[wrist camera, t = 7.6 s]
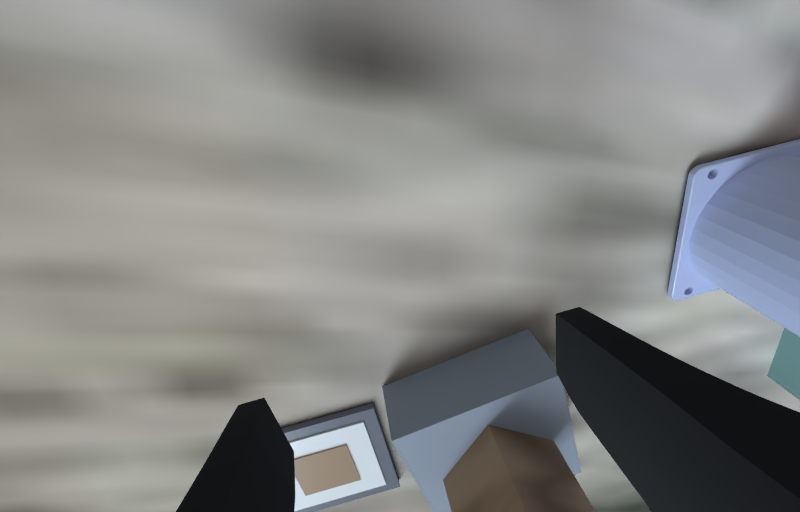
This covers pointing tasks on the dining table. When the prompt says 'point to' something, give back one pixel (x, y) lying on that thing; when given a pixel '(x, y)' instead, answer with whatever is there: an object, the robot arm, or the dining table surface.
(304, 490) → the card
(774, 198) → the robot arm
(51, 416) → the dining table surface
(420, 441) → the slate base block
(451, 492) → the walnut block
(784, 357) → the green block
